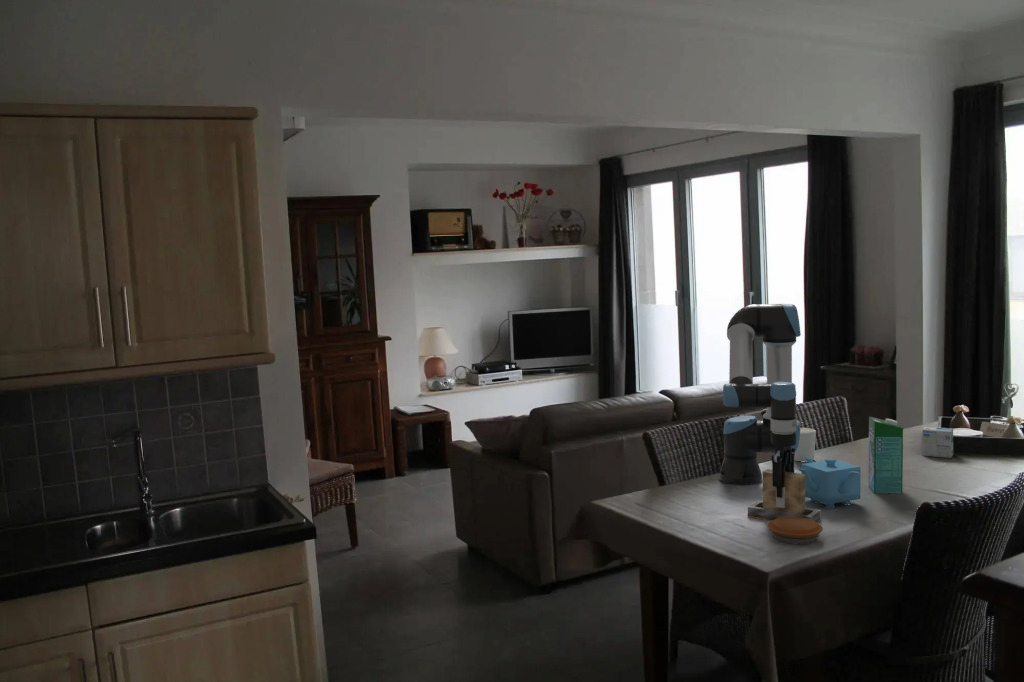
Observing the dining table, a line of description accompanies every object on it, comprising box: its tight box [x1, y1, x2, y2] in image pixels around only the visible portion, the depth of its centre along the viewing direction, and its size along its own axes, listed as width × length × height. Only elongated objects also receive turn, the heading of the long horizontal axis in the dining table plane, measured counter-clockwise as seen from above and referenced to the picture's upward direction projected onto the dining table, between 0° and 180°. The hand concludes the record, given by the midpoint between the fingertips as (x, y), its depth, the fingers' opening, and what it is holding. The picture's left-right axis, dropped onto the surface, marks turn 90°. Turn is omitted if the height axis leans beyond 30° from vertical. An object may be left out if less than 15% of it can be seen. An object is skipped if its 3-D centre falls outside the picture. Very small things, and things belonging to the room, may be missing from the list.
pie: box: [767, 517, 824, 545], centre depth 246 cm, size 15×16×5 cm
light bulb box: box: [921, 426, 954, 459], centre depth 335 cm, size 11×7×11 cm, turn 58°
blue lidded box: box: [797, 457, 862, 509], centre depth 278 cm, size 19×19×15 cm
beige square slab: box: [762, 468, 806, 514], centre depth 264 cm, size 12×4×12 cm, turn 51°
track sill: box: [747, 500, 822, 523], centre depth 264 cm, size 20×9×3 cm, turn 51°
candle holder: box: [794, 427, 817, 462], centre depth 336 cm, size 10×10×12 cm
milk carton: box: [868, 416, 904, 495], centre depth 289 cm, size 9×9×25 cm
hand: (783, 504), depth 264 cm, fingers closed on beige square slab, 4 cm apart
